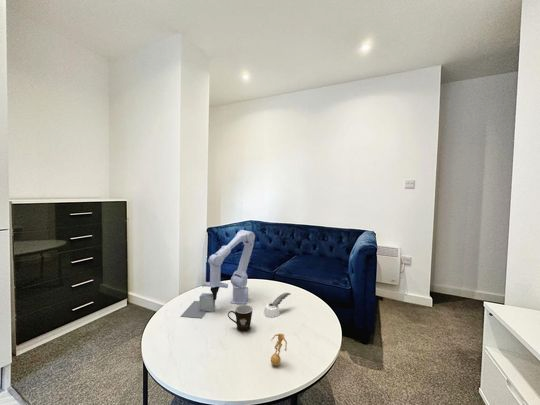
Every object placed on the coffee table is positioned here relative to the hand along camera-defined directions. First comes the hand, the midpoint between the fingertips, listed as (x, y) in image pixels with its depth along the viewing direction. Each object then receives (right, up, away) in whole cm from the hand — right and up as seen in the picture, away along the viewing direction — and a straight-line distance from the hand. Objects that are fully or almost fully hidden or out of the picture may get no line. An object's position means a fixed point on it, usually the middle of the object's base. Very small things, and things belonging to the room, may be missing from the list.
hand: (214, 299), depth 134 cm
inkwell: (+36, -8, +2) cm, 37 cm away
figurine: (+34, -10, -39) cm, 53 cm away
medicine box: (-5, -6, +1) cm, 8 cm away
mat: (-10, -6, +2) cm, 12 cm away
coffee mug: (+17, -8, -15) cm, 24 cm away
